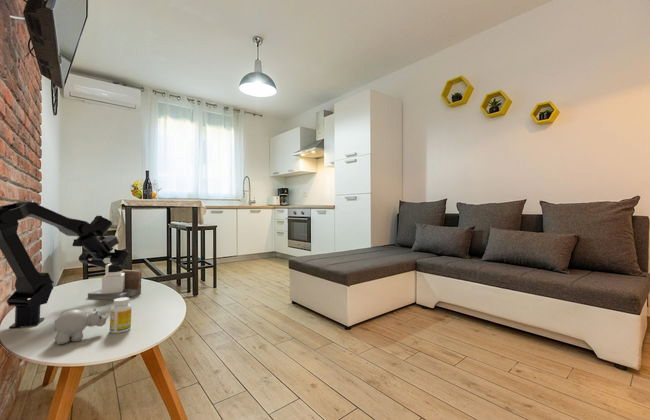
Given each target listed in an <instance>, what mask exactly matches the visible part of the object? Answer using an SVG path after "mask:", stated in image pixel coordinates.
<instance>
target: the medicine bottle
mask: <svg viewBox="0 0 650 420" xmlns="http://www.w3.org/2000/svg"><path fill="white" fill-rule="evenodd" d="M104 269H105V271H104V272H105V275H103V276H102V277H101V290H102V294H109V293H120V292H122V291H123V290H124V288H125V273H122V272H123V270H124V269H122V268H119V267H117V266H115V265H113V264H112V263H111V262H110V263H108V264H106V268H104Z"/></svg>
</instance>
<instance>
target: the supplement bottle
mask: <svg viewBox="0 0 650 420" xmlns="http://www.w3.org/2000/svg"><path fill="white" fill-rule="evenodd" d="M129 303H130V297H128V298H127V297H123V298H117V299H115V300H113V306H111V308H110V311H109V313H110V314H109V315H110V316H109V332H110V333H111V334H120V333H125V332H127V331H129V330H131V327H132V325H131V324H132V305H131V304H129Z"/></svg>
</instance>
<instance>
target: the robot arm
mask: <svg viewBox="0 0 650 420" xmlns="http://www.w3.org/2000/svg"><path fill="white" fill-rule="evenodd" d="M27 217H30V218H33V219H35V220H37V221H40V222H42V223H45V224H48V225H50V226H53V227H55V228H56V229H57V230H59V232H60V233H62V234H64V235H65V236H67V237H76V238H74V239H73V242H72V247H79V248H81V247H82V248H83V249H84V250H83V252H82V253H81V254H80V255H79V256H78V261H79V262H80V263H82V264H85V265H90V266H95V267H97V268H101V269H105V268H106V265H107V264H106V262H105V261H104V260H105V259H109V262H110V264H111V263H112V264H113V265H115V266H117V267H119V268H122V269H123V270H126V268H127V266H126V261H125V260H126V259H127V257H128V256H129V255H130V252H129V251H128V250H127V249H116V250H115V251H114V252H113V250H114V248H113V247H115V246H116V245H119V243H120V242H119V239H118V236H116V235H108V236H105V235H106V233H107V232H108V231H109V230H110V229H111V227H112V226H113V222H112V221H111V220H110V219H108V218H105V217H103V216H102V215H96V216H95V217H94V218H93V220H91V222H90V223H89V222H88V221H86V220H83V219H78V218H73V217H72V218H71V217H68V216H65V215H63V214H60V213H58V212H56V211H54V210H52V209H49V208H47V207H44V206H42V205H41V204H38V203H37V202H35V201H33V200H32V201H31V200H30V201H29V200H27V201H25V200H23V201H22V200H21V201H18V202H14V203H10V204H4V205H0V251H1V253H2V256H3V257H4V258H5V260H6V262H7V263H8V265H9V266H10V268H11V271H12V272H13V274H14V276H15V277H16V280H15V283H14V287H15V290H14V292H13V293H12V294H11V295H10V296H9V297H8V298H7V299H6V303H7V305H8V307H15V308H14V323H12V324H11V325H9V327H8V329H16V328H25V327H33V326H38V325H39V324H40V323H42V322H43V321H44V320H45V317H41V305H45V304H48V301H49V298H50V297H51V293H52V291H53V290H54V285H53V284H54V283H55V282H54V281H53V280H52V278H51V276H50V274H49V272H42V271H41V272H39V271H38V270H37V268H36V266H35V264H34V263H33V261H32V259H31V256H30V254H29V253H28V251H27V249H26V248H25V246H24V244H23V241H22V240H21V238H20V236H19V235H18V227H19V221H20V220H23V219H25V218H27Z"/></svg>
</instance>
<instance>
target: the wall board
mask: <svg viewBox="0 0 650 420" xmlns="http://www.w3.org/2000/svg"><path fill="white" fill-rule="evenodd" d="M122 273H125V288H124V290H123V291H122V292H120V293H109V294H102V289H99V290H95V291H91V292H88V293H87V299H93V300H111V301H112V300H113V301H114V300H115V299H117V298H123V297H127V298H130V296H131V297H133V296H136V295H138V294H141V293H142V273H143V271H142V270H134V269H133V270H132V269H123V272H122Z"/></svg>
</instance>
